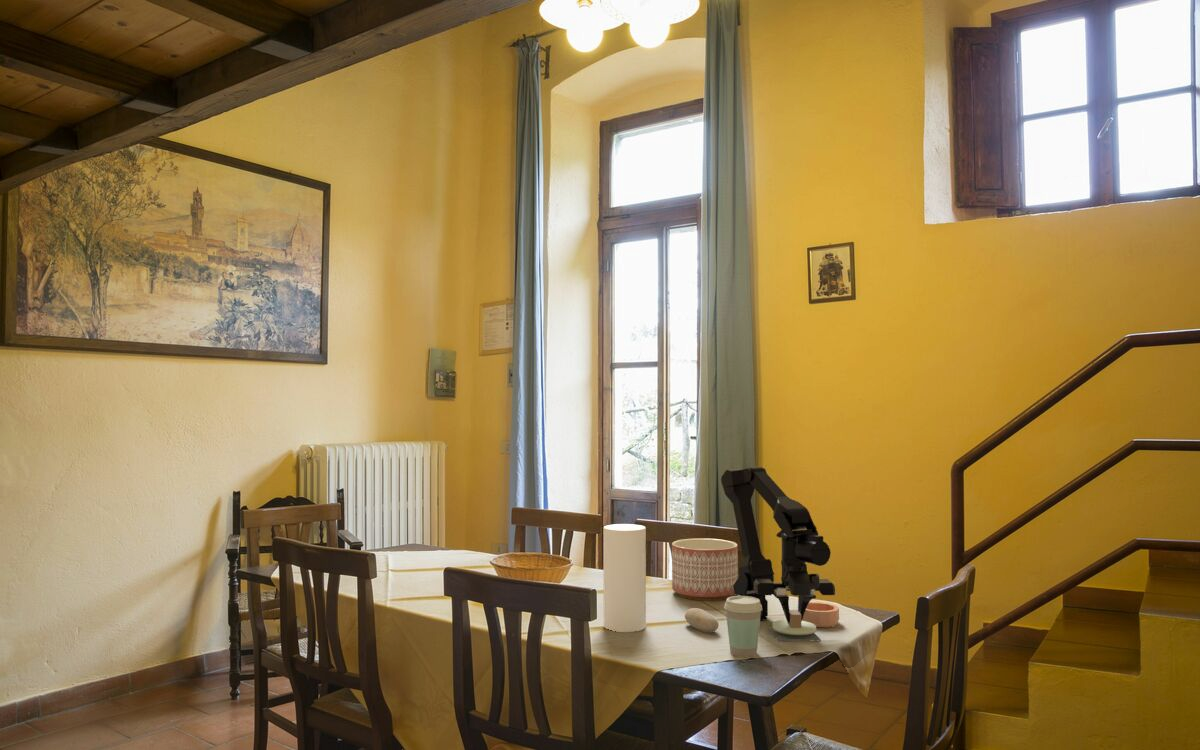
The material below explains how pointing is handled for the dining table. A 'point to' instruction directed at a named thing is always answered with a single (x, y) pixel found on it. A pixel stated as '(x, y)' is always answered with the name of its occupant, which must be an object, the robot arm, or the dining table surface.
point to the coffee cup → (743, 624)
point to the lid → (794, 625)
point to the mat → (794, 636)
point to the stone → (701, 620)
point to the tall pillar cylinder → (625, 577)
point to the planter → (704, 568)
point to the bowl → (821, 614)
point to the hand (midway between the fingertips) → (794, 622)
